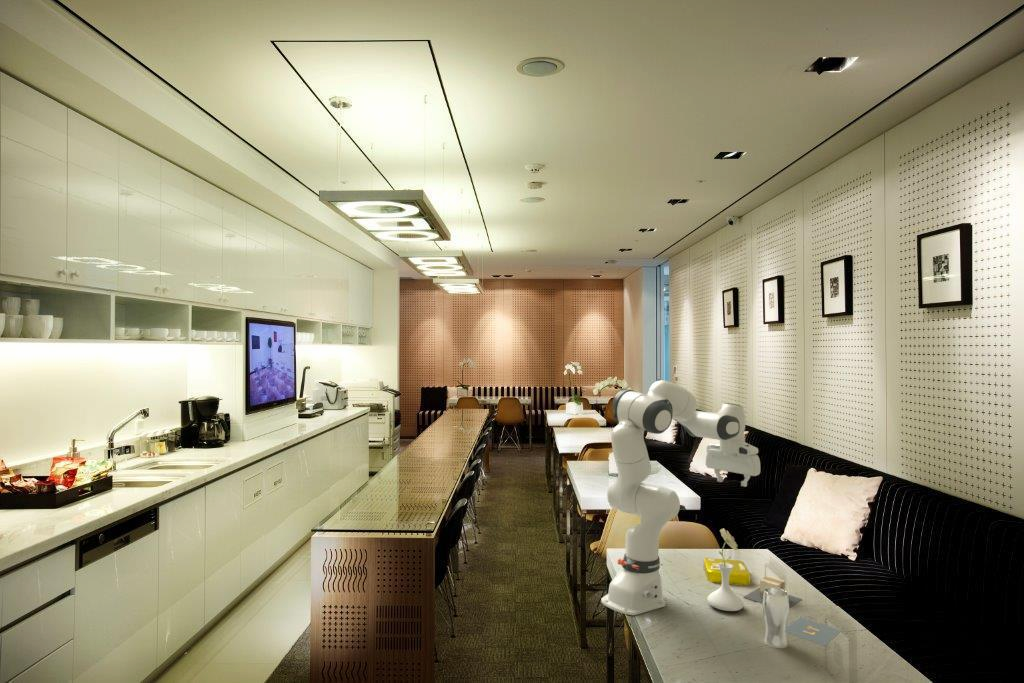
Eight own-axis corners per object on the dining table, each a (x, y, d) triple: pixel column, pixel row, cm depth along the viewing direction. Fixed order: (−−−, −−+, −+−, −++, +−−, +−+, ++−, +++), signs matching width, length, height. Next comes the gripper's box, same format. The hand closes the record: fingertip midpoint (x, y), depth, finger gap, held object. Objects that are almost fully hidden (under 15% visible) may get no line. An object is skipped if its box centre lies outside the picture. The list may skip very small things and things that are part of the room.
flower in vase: (746, 616, 184) (747, 538, 184) (709, 612, 186) (710, 535, 187) (739, 599, 197) (739, 526, 197) (704, 596, 199) (705, 523, 199)
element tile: (751, 587, 208) (751, 573, 208) (708, 583, 211) (708, 570, 211) (743, 571, 223) (743, 559, 223) (702, 568, 226) (702, 556, 226)
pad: (784, 611, 188) (784, 610, 188) (743, 597, 198) (743, 596, 198) (802, 599, 197) (802, 599, 197) (761, 587, 207) (761, 586, 207)
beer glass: (766, 635, 172) (766, 584, 172) (791, 642, 168) (791, 591, 168) (759, 644, 167) (759, 592, 167) (785, 652, 162) (785, 598, 162)
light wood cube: (777, 603, 193) (777, 585, 193) (759, 597, 198) (760, 579, 198) (785, 598, 197) (785, 580, 197) (767, 592, 202) (767, 575, 202)
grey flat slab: (824, 646, 166) (824, 645, 166) (781, 631, 175) (781, 630, 175) (841, 631, 175) (841, 630, 175) (800, 617, 184) (800, 616, 184)
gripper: (702, 443, 220) (702, 479, 220) (754, 451, 205) (754, 490, 205) (711, 442, 225) (710, 477, 224) (762, 449, 209) (762, 487, 209)
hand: (731, 483), depth 214 cm, fingers open, 8 cm apart
